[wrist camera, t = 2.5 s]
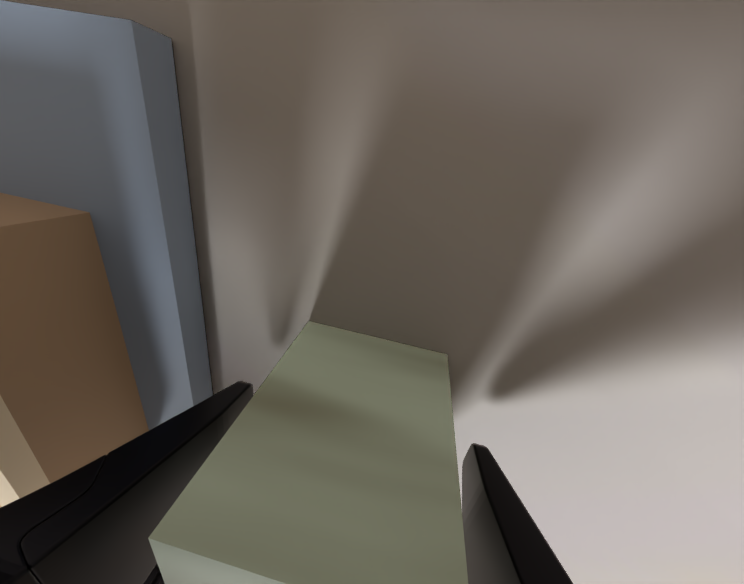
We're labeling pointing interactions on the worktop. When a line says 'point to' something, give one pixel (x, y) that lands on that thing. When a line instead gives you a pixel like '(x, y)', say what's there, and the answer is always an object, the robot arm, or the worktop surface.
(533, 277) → the worktop surface
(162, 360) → the build base
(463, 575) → the sage block
